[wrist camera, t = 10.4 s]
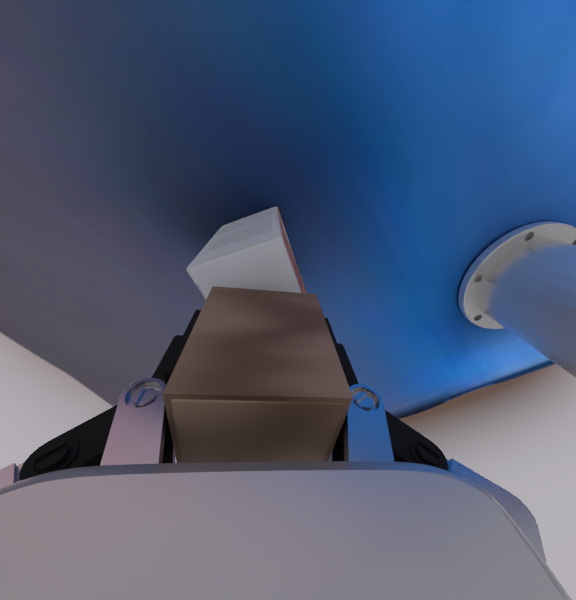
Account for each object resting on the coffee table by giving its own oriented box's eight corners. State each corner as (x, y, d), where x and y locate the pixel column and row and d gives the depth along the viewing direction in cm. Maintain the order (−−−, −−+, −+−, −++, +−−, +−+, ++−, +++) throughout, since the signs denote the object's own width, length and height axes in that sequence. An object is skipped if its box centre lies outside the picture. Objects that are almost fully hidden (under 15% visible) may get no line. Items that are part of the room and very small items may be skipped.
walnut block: (315, 294, 12) (353, 400, 6) (300, 366, 14) (319, 486, 9) (212, 286, 11) (161, 396, 6) (215, 363, 13) (181, 489, 8)
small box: (303, 280, 25) (323, 348, 16) (253, 296, 25) (245, 371, 16) (277, 203, 21) (284, 233, 12) (219, 224, 21) (183, 269, 12)
